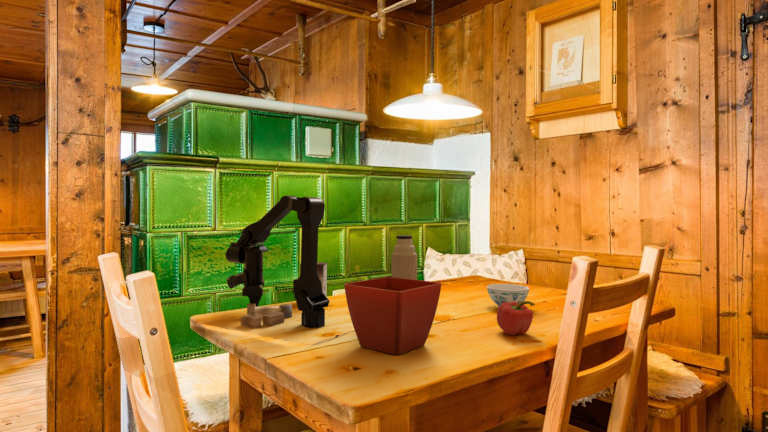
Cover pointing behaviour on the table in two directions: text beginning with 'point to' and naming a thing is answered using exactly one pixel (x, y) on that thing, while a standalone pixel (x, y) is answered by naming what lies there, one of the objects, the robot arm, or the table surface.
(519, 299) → the chinaware
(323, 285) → the coffee box
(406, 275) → the thermos bottle
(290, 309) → the leg
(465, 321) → the table surface
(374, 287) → the plant pot
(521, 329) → the vegetable
